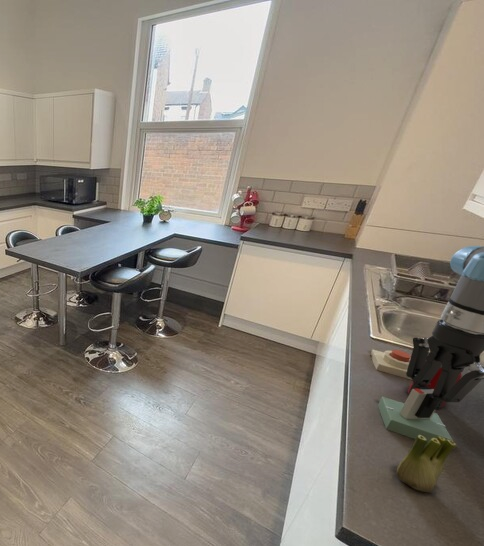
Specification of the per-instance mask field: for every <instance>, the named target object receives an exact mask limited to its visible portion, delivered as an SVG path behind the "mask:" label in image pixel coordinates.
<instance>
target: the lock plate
mask: <svg viewBox="0 0 484 546" xmlns="http://www.w3.org/2000/svg"><path fill="white" fill-rule="evenodd" d="M404 404H405V402H401V401H399V400H395V399H391V398H388V397H385V396H381V397H380V400H379V401H378V404H377V407H378V410H379V413H380V415H381V418H382V422H383V423H384V427H385V429H386V431H387V430H388V431H391V432H393V433H396V434H399V435H401V436H404V437H408V438H411V439H413V440H416V438H417V436H418V435H422V436H423V437H425V438H426V439H427V442H426V444H427V443H428V442H429V441H430V440H431V439H432V438H436V439H437V437H438V436H440V437H442V438H445V440H451V441H453V438H452V437H451V434H450V433H449V431H448V430H447V426H446V425H445V424H444V423H443V420H442V419H441V417H440V416H439V415H438V413H436V412H434V414H433V416H432V417H431V419H405V418H404V417H403V416H402V415H400V414H399V413H400V411H401V409H402V408H403V406H404ZM453 442H454V441H453Z"/></svg>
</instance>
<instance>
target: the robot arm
mask: <svg viewBox="0 0 484 546" xmlns="http://www.w3.org/2000/svg"><path fill="white" fill-rule="evenodd" d="M450 258H451V259H450V262H449V264H450V269H451V270H452V271H453V272H454V273H455V274H458V275H459V279H458V281H457V283H456V285H455V287H454V290H453V292H452V293H451V296H450V297H449V299H448V301H447V303H446V305H445V306H444V308H443V311H442V313H441V314H440V319H438V320H437V321H436V323H435V326H433V327H434V328H433V329H432V331H431V335H430V336H429V337H413V338H412V345H413V348H412V351H411V354H410V356H411V358H410V362H409V365H408V369H407V373H406V375H407V376H408V377H410V378H411V379H412V381H413V385H412V387H411V389H410V391H409V394H410V393H411V391H412V389H431V388H430V387H428V386H425V385H431V384H430V381H431V380H432V378H433V377H434V376H435V374H436V373H437V371H438V370H439V369H440V367H441V369H442V372H441V374H440V377H439V379H438V381H437V384H436V386H435V388H434V391H433V393H427V394H426V396H425V398H424V400H423V402H422V403H421V405H420V407H419V409H418V410H417V412H416V414H415V416H416V417H418V418H430V416H431V415H432V413H433V411H434V410H435V411H439V410H440V409H441V408H443V407H442V405H443V403H444V402H446V403H460V402H461V401H462V400H463V399H464V398H466V396H467V395H468V394H469V393H470V392H471V391H472V390H473V389H474V388H476V386H477V385H478V384H479V383H481V381H483V380H484V367H483V366H482V365H481V363H480V362H481V354H482V353H483V352H484V246H483V245H482V246H480V245H468V246H465V247H463V248H461V249H458V250H457V251H456V252H455V253H454V254H453V255H452V256H451V257H450ZM426 360H427V361H426ZM467 367H469V368H468V369H467V370H466V373H465V374H464V375H462V377H461V378H460V380H459V381H458V382H457V383H456V381H457V378H458V376H459V374H460V373H461V374H462V373H463V372H464V370H465V368H467ZM411 379H410V380H411ZM455 383H456V384H455ZM409 394H408V395H409Z"/></svg>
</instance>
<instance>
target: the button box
mask: <svg viewBox="0 0 484 546" xmlns="http://www.w3.org/2000/svg"><path fill="white" fill-rule="evenodd" d="M391 352H392V350H387V349H386V350H384V351H381V350H376V349H372V350H371V352H370V354H369V356H370V358H371V360H372V364H373V365H374V368H375V370H376V371H379V372H383V373H387V374H389V375H394V376H398V377H401V378H405V379H408V380H412V379H411V378H410V377H408V376H407V375H406V373H407V369H408V365H409V362H410V360H409V362H403V361H399V360H397V359H394V358H393V357H391V356H390V355H391ZM412 381H413V380H412Z"/></svg>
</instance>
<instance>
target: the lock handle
mask: <svg viewBox="0 0 484 546" xmlns="http://www.w3.org/2000/svg"><path fill="white" fill-rule="evenodd" d="M433 391H434V389H412V391H411V393H410V395H409V394H408V396H407V399H406V400H405V402H404V403H405V404H404V406H403V408H402V409H401V411H400V413H399V414H400V415H402V416H403V417H404V418H405V419H431V417H432V416H433V414H434V413H436V410H434V411H433V413H432V415H431V416H430V418H418V417H416V416H415V414H416V412H417V410H418V409H419V407H420V405H421V403H422V402H423V400H424V398H425V396H426V394H427V393H433Z"/></svg>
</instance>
